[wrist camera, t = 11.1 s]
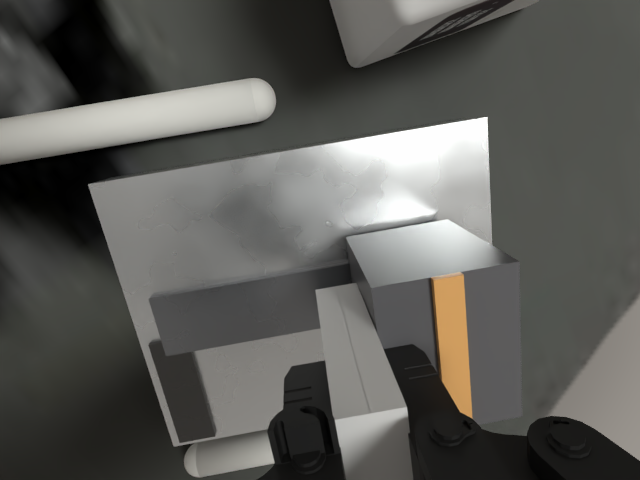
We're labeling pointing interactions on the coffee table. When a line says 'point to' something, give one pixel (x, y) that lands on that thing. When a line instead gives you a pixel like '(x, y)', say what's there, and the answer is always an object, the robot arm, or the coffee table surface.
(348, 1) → the container
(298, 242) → the panel
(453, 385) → the toggle
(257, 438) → the rod
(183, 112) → the cord near
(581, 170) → the coffee table surface
